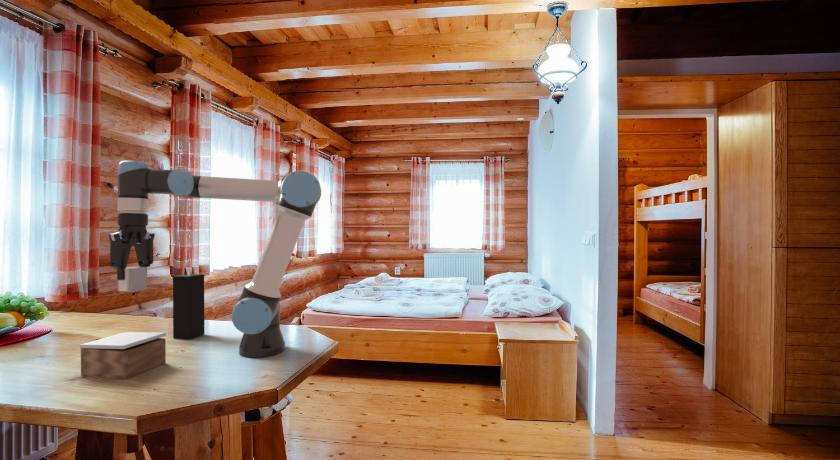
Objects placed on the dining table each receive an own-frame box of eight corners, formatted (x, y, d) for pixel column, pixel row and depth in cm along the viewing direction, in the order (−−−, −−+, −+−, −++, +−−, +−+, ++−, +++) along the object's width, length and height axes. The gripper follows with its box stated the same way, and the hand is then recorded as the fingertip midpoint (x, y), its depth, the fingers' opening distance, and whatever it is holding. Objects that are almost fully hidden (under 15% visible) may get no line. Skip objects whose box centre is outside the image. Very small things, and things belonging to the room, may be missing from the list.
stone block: (146, 289, 122) (146, 267, 122) (131, 292, 117) (131, 268, 117) (132, 288, 123) (132, 266, 123) (117, 291, 118) (117, 268, 118)
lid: (165, 335, 128) (165, 332, 128) (123, 349, 114) (123, 345, 114) (125, 335, 132) (125, 332, 132) (80, 348, 117) (79, 344, 117)
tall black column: (189, 339, 154) (189, 268, 154) (172, 338, 156) (172, 267, 156) (204, 334, 162) (204, 266, 162) (188, 333, 164) (187, 265, 163)
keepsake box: (165, 363, 128) (165, 338, 128) (124, 379, 114) (124, 351, 114) (125, 359, 131) (125, 335, 131) (80, 374, 118) (80, 348, 118)
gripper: (148, 213, 129) (147, 284, 129) (93, 211, 112) (92, 293, 112) (167, 213, 128) (167, 285, 128) (115, 211, 110) (114, 294, 110)
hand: (132, 289), depth 120 cm, fingers closed on stone block, 5 cm apart
